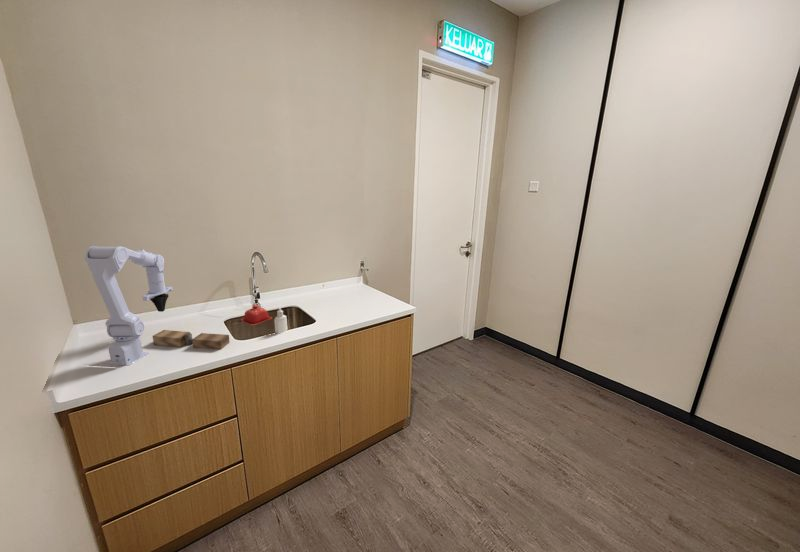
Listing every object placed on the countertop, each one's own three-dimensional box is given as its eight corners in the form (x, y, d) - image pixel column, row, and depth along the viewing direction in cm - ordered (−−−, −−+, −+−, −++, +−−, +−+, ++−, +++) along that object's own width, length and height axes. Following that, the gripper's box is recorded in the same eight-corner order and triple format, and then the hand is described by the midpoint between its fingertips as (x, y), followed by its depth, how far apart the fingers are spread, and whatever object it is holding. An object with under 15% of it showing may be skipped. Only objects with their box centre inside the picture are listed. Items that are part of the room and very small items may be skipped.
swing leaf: (197, 341, 143) (196, 331, 142) (187, 347, 137) (185, 337, 136) (165, 338, 145) (163, 329, 144) (154, 344, 139) (152, 334, 138)
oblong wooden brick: (229, 343, 142) (228, 334, 141) (221, 350, 136) (220, 341, 135) (202, 341, 143) (201, 333, 142) (193, 348, 137) (192, 339, 136)
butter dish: (239, 322, 164) (237, 305, 162) (259, 315, 174) (258, 299, 172) (253, 328, 158) (251, 311, 156) (273, 320, 168) (272, 304, 166)
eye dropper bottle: (288, 333, 153) (287, 308, 150) (276, 335, 150) (274, 310, 147) (286, 329, 157) (285, 305, 154) (274, 332, 154) (272, 307, 151)
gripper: (160, 276, 151) (165, 304, 155) (133, 285, 137) (139, 316, 141) (175, 277, 151) (179, 305, 154) (149, 286, 137) (155, 317, 140)
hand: (161, 311), depth 147 cm, fingers closed
